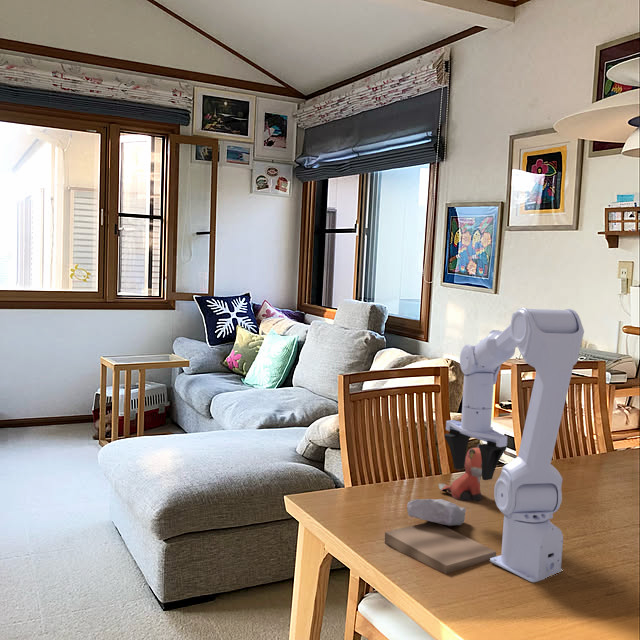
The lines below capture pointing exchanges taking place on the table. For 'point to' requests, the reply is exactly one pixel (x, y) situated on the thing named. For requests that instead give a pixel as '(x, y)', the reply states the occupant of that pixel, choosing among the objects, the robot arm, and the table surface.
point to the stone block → (436, 511)
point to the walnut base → (438, 547)
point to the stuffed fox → (467, 478)
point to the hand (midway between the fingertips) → (472, 473)
